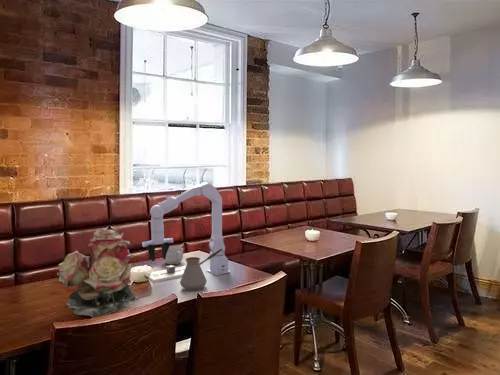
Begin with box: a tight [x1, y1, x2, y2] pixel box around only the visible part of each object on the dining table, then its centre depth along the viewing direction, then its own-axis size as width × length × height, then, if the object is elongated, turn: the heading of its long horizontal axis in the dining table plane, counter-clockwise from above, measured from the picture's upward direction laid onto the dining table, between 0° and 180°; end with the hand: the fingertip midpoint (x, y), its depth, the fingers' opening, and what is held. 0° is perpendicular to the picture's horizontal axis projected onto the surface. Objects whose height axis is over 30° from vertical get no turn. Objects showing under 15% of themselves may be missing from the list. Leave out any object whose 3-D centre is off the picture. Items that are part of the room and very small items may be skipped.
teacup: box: [162, 246, 184, 265], centre depth 215 cm, size 14×11×8 cm
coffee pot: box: [179, 249, 225, 292], centre depth 180 cm, size 21×12×15 cm, turn 127°
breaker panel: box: [149, 265, 186, 283], centre depth 196 cm, size 12×22×1 cm, turn 125°
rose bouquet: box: [56, 227, 137, 319], centre depth 158 cm, size 26×29×30 cm
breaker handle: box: [166, 264, 176, 273], centre depth 196 cm, size 3×3×3 cm
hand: (158, 259), depth 192 cm, fingers open, 5 cm apart
